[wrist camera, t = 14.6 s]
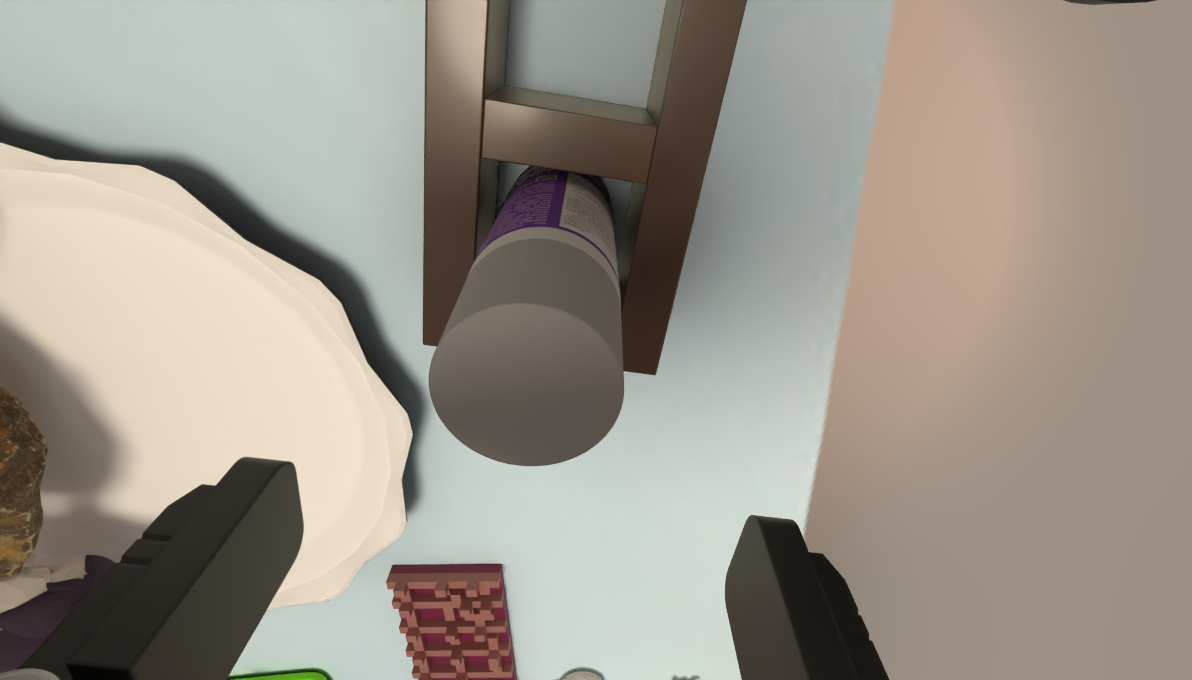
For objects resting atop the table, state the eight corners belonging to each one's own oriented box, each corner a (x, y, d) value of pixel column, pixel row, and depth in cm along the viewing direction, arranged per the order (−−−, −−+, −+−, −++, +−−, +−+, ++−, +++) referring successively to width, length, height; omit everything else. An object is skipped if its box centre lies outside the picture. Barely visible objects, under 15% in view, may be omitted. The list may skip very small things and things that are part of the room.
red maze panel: (435, 723, 47) (428, 749, 45) (392, 565, 37) (382, 591, 36) (522, 722, 47) (519, 749, 45) (501, 564, 37) (496, 590, 36)
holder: (744, -119, 20) (786, -159, 16) (646, 323, 29) (656, 375, 24) (464, -175, 20) (426, -234, 15) (449, 296, 28) (422, 345, 24)
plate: (-295, 60, 23) (-385, 63, 21) (440, 208, 26) (426, 224, 24) (-52, 555, 37) (-91, 587, 34) (408, 613, 40) (397, 646, 37)
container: (507, 251, 27) (425, 463, 14) (510, 150, 25) (417, 287, 12) (605, 261, 27) (616, 478, 14) (617, 162, 25) (643, 308, 12)
